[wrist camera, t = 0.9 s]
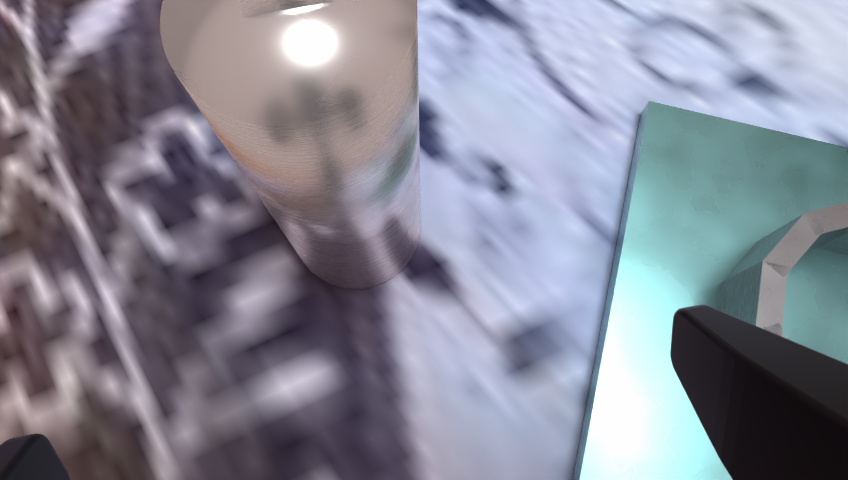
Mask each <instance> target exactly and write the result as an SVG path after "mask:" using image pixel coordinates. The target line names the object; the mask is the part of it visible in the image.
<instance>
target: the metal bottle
mask: <svg viewBox="0 0 848 480" xmlns="http://www.w3.org/2000/svg"><path fill="white" fill-rule="evenodd" d="M160 33H161V38H162V44H163V48H164V51H165V54H166V56H167V59H168V61H169V63H170V65H171V67H172V69H173V70H174V72H175V74H176V75H177V77H178V78H179V80H180V81H181V82H182V84H183V85H184V87H185V88H186V90H187V91H188V93H189V94H190V96H191V97H192V99H193V100H194V102H195V103H196V105H197V106H198V108H199V109H200V110H201V112H202V113H203V115H204V116H205V118H206V119H207V121H208V122H209V124H210V125H211V127H212V128H213V130H214V131H215V133H216V134H217V136H218V137H219V138H220V140H221V141H222V143H223V144H224V146H225V147H226V149H227V150H228V152H229V153H230V155H231V156H232V158H233V159H234V161H235V162H236V164H237V165H238V167H239V168H240V169H241V171H242V172H243V174H244V175H245V177H246V178H247V180H248V181H249V183H250V184H251V186H252V187H253V189H254V190H255V192H256V193H257V195H258V196H259V197H260V199H261V200H262V202H263V203H264V205H265V206H266V208H267V209H268V211H269V212H270V214H271V215H272V217H273V218H274V220H275V221H276V223H277V224H278V226H279V227H280V228H281V230H282V231H283V233H284V234H285V236H286V237H287V239H288V240H289V242H290V243H291V245H292V246H293V248H294V249H295V251H296V252H297V254H298V255H299V256H300V258H301V259H302V261H303V262H304V264H305V265H306V266H307V268H308V269H309V270H310V271H311V272H312V273H313V274H314V275H316V276H317V277H318V278H320V279H321V280H323V281H325V282H327V283H329V284H331V285H334V286H337V287H341V288H347V289H364V288H370V287H374V286H377V285H380V284H382V283H385V282H386V281H388V280H390V279H392V278H393V277H394V276H396V275H397V274H398V273H400V272H401V271H402V270H403V269H404V268H405V267H406V265H407V264H408V263H409V262H410V260H411V258H412V257H413V255H414V253H415V251H416V249H417V246H418V242H419V239H420V231H421V227H420V160H419V95H418V30H417V0H163V2H162V8H161V15H160Z"/></svg>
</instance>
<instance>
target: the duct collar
mask: <svg viewBox="0 0 848 480" xmlns="http://www.w3.org/2000/svg"><path fill="white" fill-rule="evenodd" d="M701 304H703V305H707V306H710V307H713V308H715V309H717V310H720V311H722V312H725V313H727V314H729V315H732V316H734V317H736V318H739V319H741V320H744V321H746V322H748V323H751V324H753V325H756V326H758V327H760V328H763V329H765V330H768V331H770V332H772V333H775V334H777V335H779V336H782V337H784V338H787V339H789V340H791V341H794V342H796V343H799V344H801V345H803V346H806V347H808V348H811V349H813V350H815V351H818V352H820V353H822V354H825V355H827V356H830V357H832V358H834V359H837V360H839V361H842V362H844V363H846V364H848V148H847V147H842V146H838V145H834V144H830V143H825V142H821V141H817V140H813V139H808V138H804V137H800V136H796V135H791V134H787V133H783V132H779V131H774V130H770V129H766V128H762V127H757V126H753V125H749V124H745V123H740V122H736V121H732V120H727V119H723V118H719V117H715V116H710V115H706V114H702V113H698V112H693V111H689V110H685V109H681V108H676V107H672V106H668V105H664V104H659V103H655V102H651V101H649V102H648V104H647V105H646V107H645V108H644V110H643V111H642V113H641V116H640V121H639V126H638V132H637V137H636V142H635V148H634V153H633V158H632V164H631V169H630V174H629V180H628V185H627V191H626V196H625V201H624V207H623V212H622V217H621V223H620V228H619V233H618V239H617V244H616V250H615V255H614V260H613V266H612V271H611V276H610V282H609V287H608V292H607V298H606V303H605V308H604V314H603V319H602V325H601V330H600V335H599V341H598V346H597V351H596V357H595V362H594V367H593V373H592V378H591V383H590V389H589V394H588V400H587V405H586V410H585V416H584V421H583V426H582V432H581V437H580V442H579V448H578V453H577V459H576V464H575V469H574V475H573V480H732V478H731V477H730V475H729V473H728V472H727V470H726V468H725V467H724V465H723V464H722V462H721V460H720V459H719V457H718V455H717V453H716V451H715V449H714V447H713V446H712V444H711V442H710V440H709V438H708V436H707V434H706V432H705V430H704V428H703V426H702V424H701V422H700V420H699V418H698V416H697V414H696V412H695V410H694V408H693V406H692V404H691V402H690V400H689V398H688V396H687V394H686V392H685V390H684V388H683V386H682V384H681V382H680V380H679V378H678V376H677V374H676V373H675V370H674V368H673V365H672V362H671V356H670V350H671V337H672V325H673V317H674V314H675V312H676V311H677V310H678V309H680V308H684V307H690V306H695V305H701Z"/></svg>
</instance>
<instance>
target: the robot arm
mask: <svg viewBox="0 0 848 480" xmlns="http://www.w3.org/2000/svg"><path fill="white" fill-rule="evenodd" d="M670 356H671V362H672V365H673V368H674V370H675V373H676V374H677V376H678V378H679V380H680V382H681V384H682V386H683V388H684V390H685V392H686V394H687V396H688V398H689V400H690V402H691V404H692V406H693V408H694V410H695V412H696V414H697V416H698V418H699V420H700V422H701V424H702V426H703V428H704V430H705V432H706V434H707V436H708V438H709V440H710V442H711V444H712V446H713V447H714V449H715V451H716V453H717V455H718V457H719V459H720V460H721V462H722V464H723V465H724V467H725V468H726V470H727V472H728V473H729V475H730V477H731V478H732V480H848V364H846V363H844V362H842V361H839V360H837V359H834V358H832V357H830V356H827V355H825V354H822V353H820V352H818V351H815V350H813V349H811V348H808V347H806V346H803V345H801V344H799V343H796V342H794V341H791V340H789V339H787V338H784V337H782V336H779V335H777V334H775V333H772V332H770V331H768V330H765V329H763V328H760V327H758V326H756V325H753V324H751V323H748V322H746V321H744V320H741V319H739V318H736V317H734V316H732V315H729V314H727V313H725V312H722V311H720V310H717V309H715V308H713V307H710V306H707V305H703V304H701V305H695V306H690V307H684V308H680V309H678V310H677V311H676V312H675V314H674V317H673V325H672V337H671V350H670ZM0 480H70V478H69V475H68V472H67V470H66V469H65V467H64V465H63V464H62V462H61V460H60V459H59V457H58V455H57V454H56V452H55V450H54V448H53V447H52V445H51V443H50V442H49V440H48V439H47V438H46V437H45V436H44V435H42V434H31V435H26V436H21V437H16V438H12V439H9V440H7V441H5V442H4V443H3V444H1V445H0Z"/></svg>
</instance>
